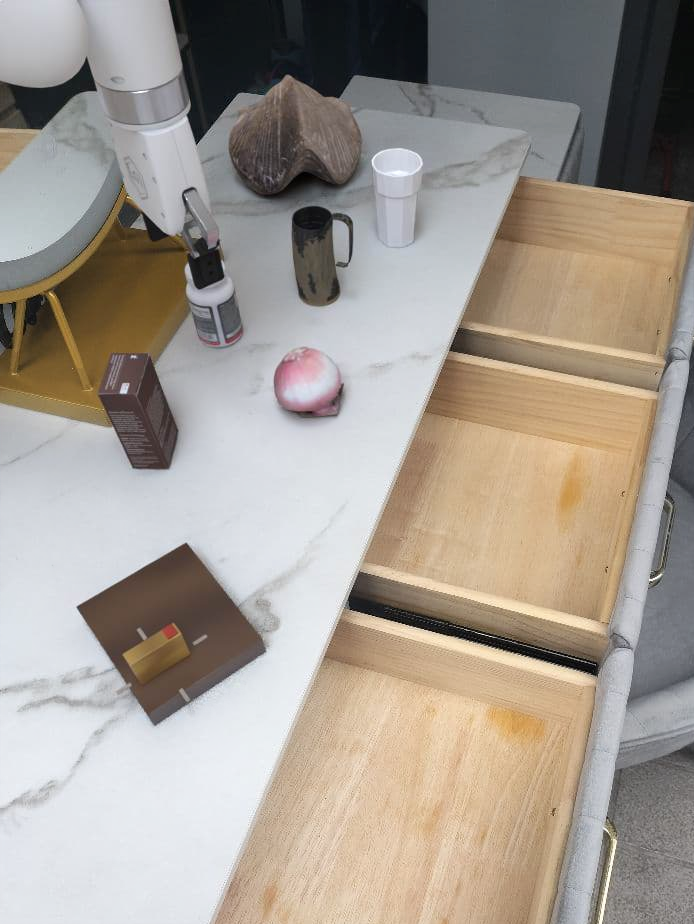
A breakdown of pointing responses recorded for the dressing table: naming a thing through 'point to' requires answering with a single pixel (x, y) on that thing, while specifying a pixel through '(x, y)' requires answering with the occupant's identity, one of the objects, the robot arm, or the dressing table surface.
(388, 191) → the cup
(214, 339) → the pill bottle
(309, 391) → the onion
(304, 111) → the seashell
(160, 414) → the box
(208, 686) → the panel
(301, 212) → the mug
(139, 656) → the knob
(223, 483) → the dressing table surface
